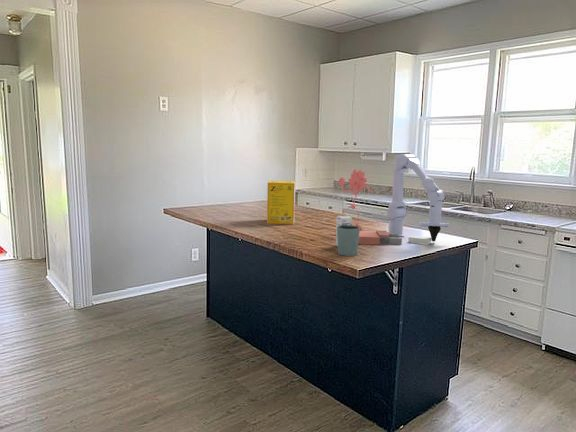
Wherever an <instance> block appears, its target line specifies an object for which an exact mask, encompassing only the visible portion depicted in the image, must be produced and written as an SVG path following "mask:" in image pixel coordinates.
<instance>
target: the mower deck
mask: <svg viewBox="0 0 576 432" xmlns="http://www.w3.org/2000/svg"><path fill="white" fill-rule="evenodd" d="M387 232H388V231H387V230H378V229H377V230H374V231H373V230H363V231H360V232H359V242H358V245H378V246H379V245H381V244H382V245H402V242H403V238H402V237H398V234H389V233H387Z"/></svg>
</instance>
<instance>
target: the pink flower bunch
mask: <svg viewBox="0 0 576 432" xmlns="http://www.w3.org/2000/svg"><path fill="white" fill-rule="evenodd" d="M365 175H366V173H365V172H364V171H362V169H359V170H358V171H357V170H356V169H353V171H352V173H351V174H350V178H348V179H347V180H348V181H347V182H348V183H349V184H350V185H349V186H350V189H344V185H346V180H345V178H344V177H343V176H342V177H340V178H339V179H338V184H339V186H340V187H341V190H342V191H341V192H351V193H352V194H353V195H355V197H354V199H353V201H354V202H353V203H352V204H350V207H347V208H346V209H343V212H342V213H343V216H346V215H345V211H347V210H348V209H352V210H354V209H355V210H356V212H357V219H359V215H360V212H359V210H358V209H357V207H356V205H355V203H356V199H357V195H358V194H359V193H361V192H362V191H363V189H365V188H366V189H367V190H368V191H369V192H370V193H371V194H374V192H373V190H372V189H371V188H370V187H369V186H368V185H367V184H366V183H367V182H368V180H367V178H366V177H365ZM354 226H358V227H360V231H364V230H363V229H362V227H361V226H360V225H359V221H357V223H355V225H354Z"/></svg>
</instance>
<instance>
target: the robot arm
mask: <svg viewBox="0 0 576 432" xmlns="http://www.w3.org/2000/svg"><path fill="white" fill-rule="evenodd" d="M409 169H410V170H413V172H414V173H415V175H417V177H418V178H419V179H420V181H421V183H420V184H421V186H422V188H423V190H424V191H425V192H426V193H427V198H428V199H427V200H428V201H429V213H428V214H429V215H428V221H422V222H421V221H420V222H419V224H418V227H421V228H422V227H426V228H428V231H429V235H430V238H431V242H436V239H437V237H438V235H439V233H440V231H441V228H447V229H449V228H450V227H451V224H450V223H448V222H441V221H442V212H443V211H442V210H443V201H444V200H445V199H446V198H445V197H446V193H445V191H444V190H443V189H440V187H439V186H437V184H436V183H435V180H434V178H432V177H429V176H428V175H427V174H426V172H425V170H424V168H423V167H422V165H421V164H420V160H419V158H418V157H417V155H415V154H413V153H412V154H405V153H401V154H399V155H398V156H397V157H396V158H395V164H394V165H393V171H392V173H393V174H392V195H391V196H392V197H391V198H392V199H391V202H390V203H389V204H388V209H387V211H386V215H387V217H388V219H389V222H388V231H387V233H389V234H398V238H402V237H405V235H404V234H403V231H404V230H403V229H404V220H405V217H406V216H407V208H406V203H405V202H404V179H405V178H404V177H405V172H406V171H407V170H409Z"/></svg>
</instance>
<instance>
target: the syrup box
mask: <svg viewBox="0 0 576 432" xmlns="http://www.w3.org/2000/svg"><path fill="white" fill-rule="evenodd" d="M335 223H336V226H335V246H336V247H338V240H337V226H341V225H351V226H353V217H352V216H350V215H345V216H344V215H337V216H336V220H335Z"/></svg>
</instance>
